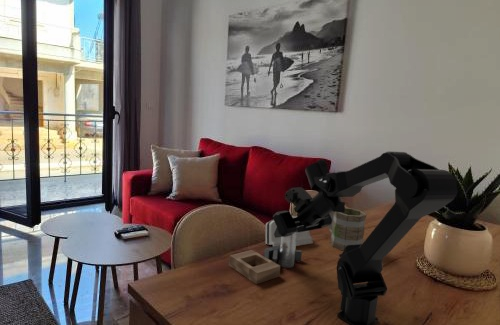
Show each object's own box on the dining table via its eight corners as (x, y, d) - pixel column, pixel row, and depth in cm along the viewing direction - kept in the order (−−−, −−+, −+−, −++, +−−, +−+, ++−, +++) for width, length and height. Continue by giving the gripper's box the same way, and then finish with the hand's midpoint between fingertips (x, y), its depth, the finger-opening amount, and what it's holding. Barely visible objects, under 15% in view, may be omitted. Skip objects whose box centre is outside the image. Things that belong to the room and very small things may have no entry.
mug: (369, 250, 112) (373, 216, 111) (342, 253, 108) (346, 217, 107) (340, 233, 127) (343, 203, 125) (315, 235, 123) (319, 204, 121)
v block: (302, 261, 100) (303, 251, 100) (273, 270, 93) (274, 260, 92) (285, 252, 106) (286, 243, 105) (256, 260, 98) (257, 250, 98)
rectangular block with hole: (279, 276, 89) (280, 265, 89) (256, 284, 84) (257, 273, 84) (251, 259, 99) (252, 249, 98) (228, 265, 94) (229, 255, 93)
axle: (297, 265, 97) (301, 218, 95) (286, 269, 94) (290, 221, 92) (286, 259, 100) (290, 214, 98) (275, 263, 97) (279, 216, 95)
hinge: (273, 249, 107) (269, 218, 109) (265, 249, 111) (262, 218, 113) (313, 243, 115) (310, 213, 117) (305, 242, 119) (301, 214, 121)
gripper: (328, 177, 96) (296, 205, 106) (280, 182, 84) (250, 212, 94) (348, 211, 91) (313, 237, 101) (301, 221, 79) (266, 249, 89)
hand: (286, 233), depth 97 cm, fingers open, 9 cm apart
